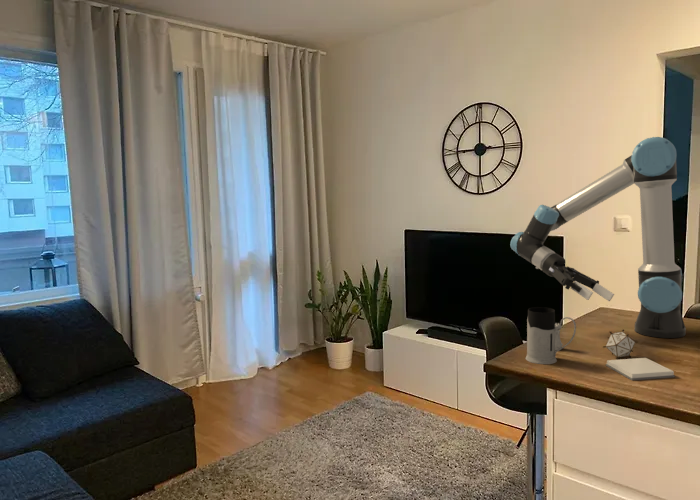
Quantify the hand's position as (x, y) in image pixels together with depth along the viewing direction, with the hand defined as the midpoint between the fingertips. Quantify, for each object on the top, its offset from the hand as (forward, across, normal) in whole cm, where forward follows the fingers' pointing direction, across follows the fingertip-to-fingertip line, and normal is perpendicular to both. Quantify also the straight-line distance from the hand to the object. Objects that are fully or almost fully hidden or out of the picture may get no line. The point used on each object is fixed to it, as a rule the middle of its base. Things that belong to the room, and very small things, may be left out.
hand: (601, 297), depth 170 cm
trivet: (+24, +11, -9) cm, 28 cm away
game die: (+16, +3, -11) cm, 19 cm away
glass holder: (+6, +20, -20) cm, 28 cm away
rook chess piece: (0, +8, -20) cm, 22 cm away
